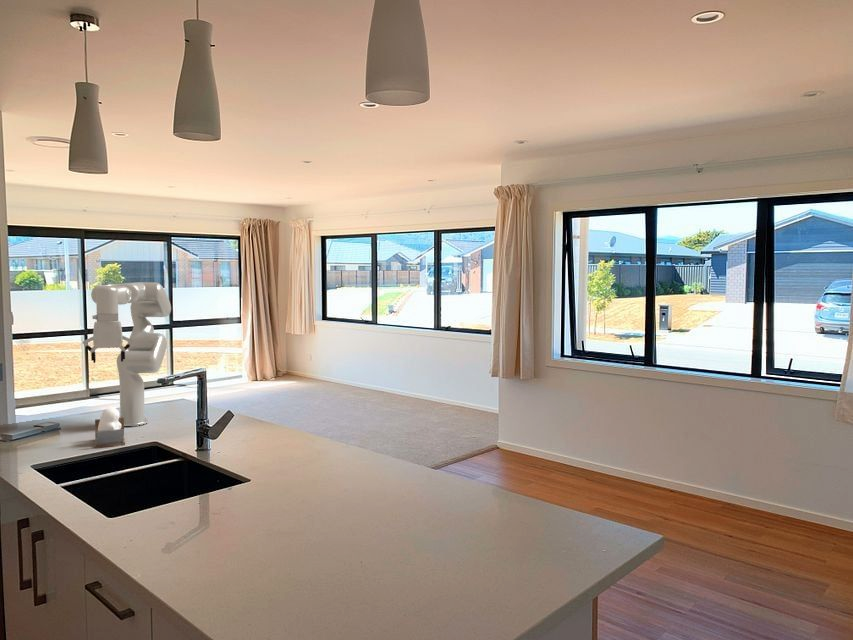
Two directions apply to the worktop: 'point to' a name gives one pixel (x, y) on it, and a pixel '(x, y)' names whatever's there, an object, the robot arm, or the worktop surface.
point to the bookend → (109, 436)
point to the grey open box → (121, 420)
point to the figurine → (109, 420)
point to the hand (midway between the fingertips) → (108, 361)
